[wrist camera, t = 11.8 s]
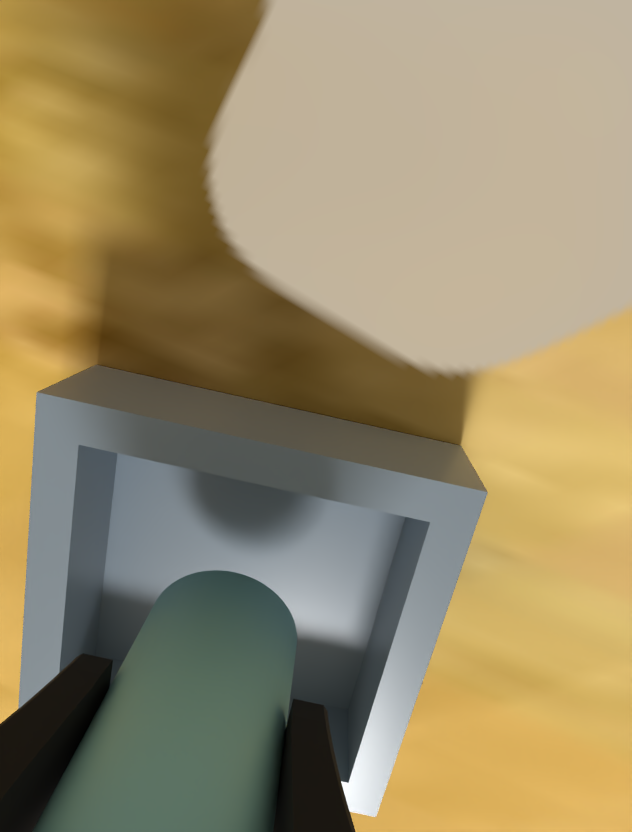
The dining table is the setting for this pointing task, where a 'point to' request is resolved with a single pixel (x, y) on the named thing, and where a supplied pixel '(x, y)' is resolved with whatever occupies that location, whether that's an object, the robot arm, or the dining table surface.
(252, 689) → the dowel
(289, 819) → the robot arm
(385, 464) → the tray
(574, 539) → the dining table surface
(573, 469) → the dining table surface
